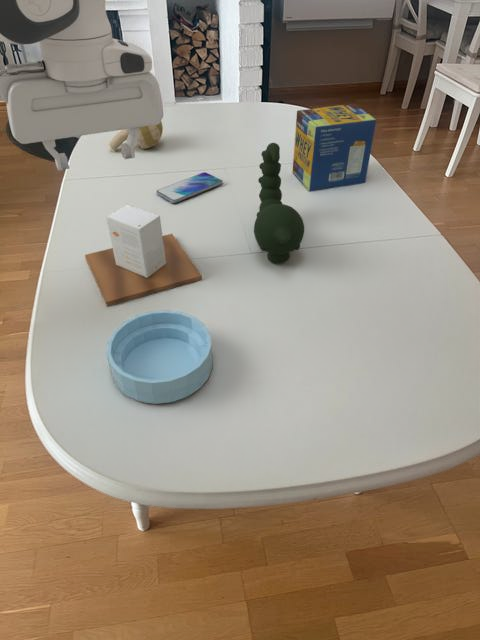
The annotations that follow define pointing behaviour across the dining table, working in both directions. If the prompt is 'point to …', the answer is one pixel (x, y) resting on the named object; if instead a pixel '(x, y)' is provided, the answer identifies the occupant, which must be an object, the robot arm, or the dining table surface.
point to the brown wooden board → (130, 285)
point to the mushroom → (146, 138)
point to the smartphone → (189, 187)
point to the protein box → (332, 146)
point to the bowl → (160, 356)
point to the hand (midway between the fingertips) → (96, 162)
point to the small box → (137, 240)
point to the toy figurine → (276, 213)
